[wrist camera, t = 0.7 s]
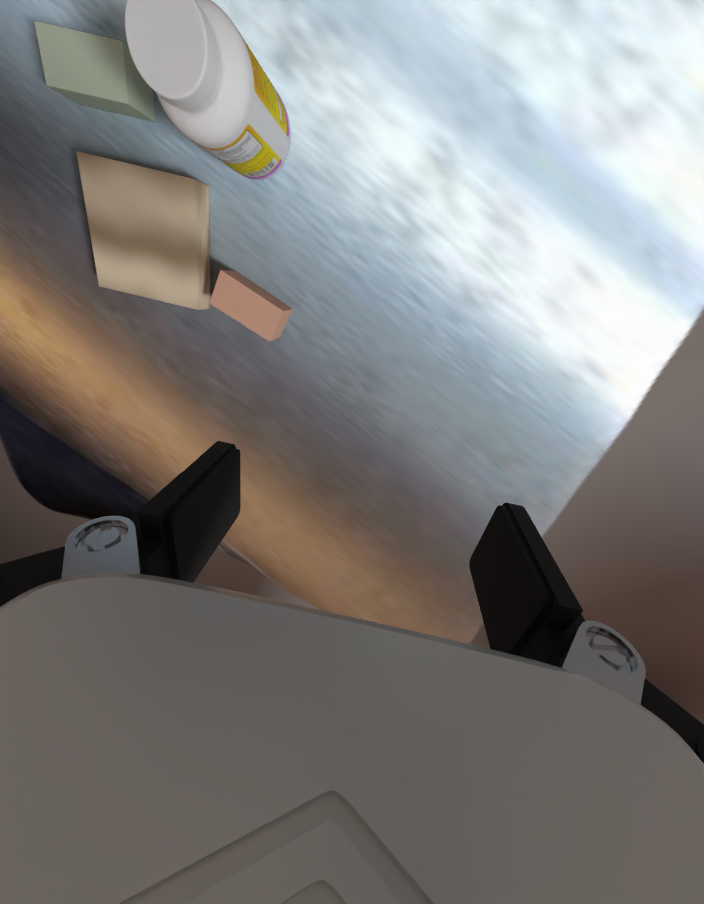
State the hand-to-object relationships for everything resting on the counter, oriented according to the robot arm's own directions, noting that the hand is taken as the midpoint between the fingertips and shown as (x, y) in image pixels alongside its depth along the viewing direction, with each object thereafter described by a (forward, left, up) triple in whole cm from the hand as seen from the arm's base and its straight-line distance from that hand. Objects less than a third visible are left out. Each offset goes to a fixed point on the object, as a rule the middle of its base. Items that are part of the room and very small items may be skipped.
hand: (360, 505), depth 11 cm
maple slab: (-6, -26, -28) cm, 39 cm away
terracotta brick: (-2, -15, -28) cm, 32 cm away
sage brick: (-17, -29, -28) cm, 44 cm away
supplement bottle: (-16, -16, -28) cm, 36 cm away
